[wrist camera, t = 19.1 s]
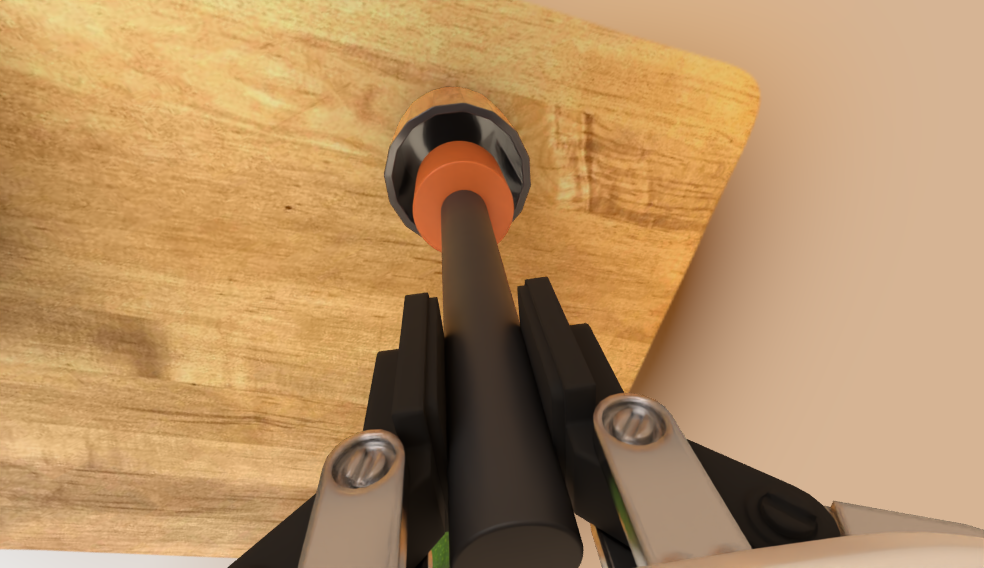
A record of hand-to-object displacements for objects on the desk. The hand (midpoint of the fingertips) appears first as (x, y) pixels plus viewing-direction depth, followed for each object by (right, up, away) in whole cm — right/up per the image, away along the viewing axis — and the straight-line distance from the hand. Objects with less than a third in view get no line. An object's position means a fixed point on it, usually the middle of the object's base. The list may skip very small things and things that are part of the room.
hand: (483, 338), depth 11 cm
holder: (-2, +10, +17) cm, 20 cm away
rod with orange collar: (-1, +6, +12) cm, 14 cm away
